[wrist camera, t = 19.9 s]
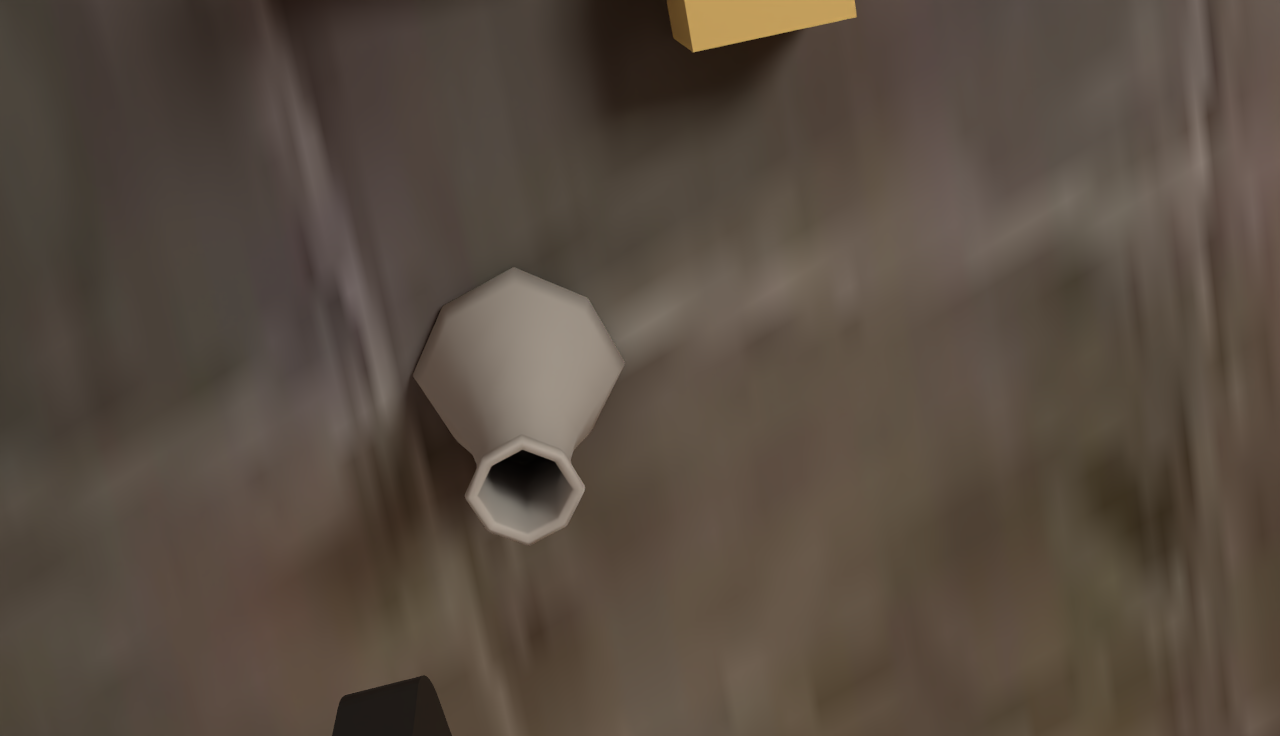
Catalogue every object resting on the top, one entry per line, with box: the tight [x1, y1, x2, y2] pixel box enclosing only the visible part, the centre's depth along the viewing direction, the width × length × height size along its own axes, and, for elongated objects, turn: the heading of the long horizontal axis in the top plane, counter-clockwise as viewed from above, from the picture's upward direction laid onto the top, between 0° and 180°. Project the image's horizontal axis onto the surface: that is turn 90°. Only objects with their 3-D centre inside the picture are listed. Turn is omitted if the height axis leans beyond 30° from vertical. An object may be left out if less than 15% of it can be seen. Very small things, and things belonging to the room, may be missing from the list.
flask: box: [412, 267, 625, 546], centre depth 37 cm, size 7×7×10 cm
